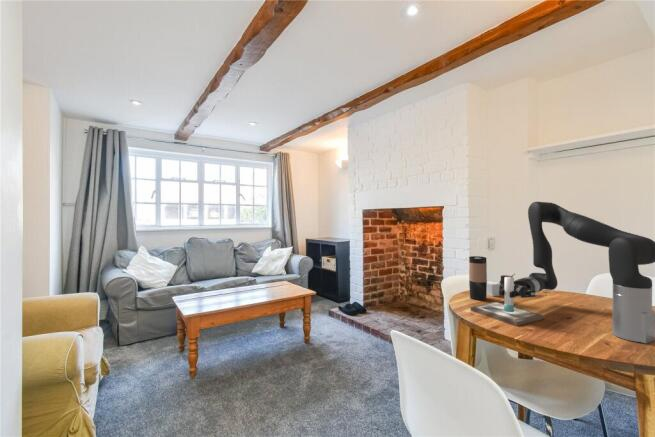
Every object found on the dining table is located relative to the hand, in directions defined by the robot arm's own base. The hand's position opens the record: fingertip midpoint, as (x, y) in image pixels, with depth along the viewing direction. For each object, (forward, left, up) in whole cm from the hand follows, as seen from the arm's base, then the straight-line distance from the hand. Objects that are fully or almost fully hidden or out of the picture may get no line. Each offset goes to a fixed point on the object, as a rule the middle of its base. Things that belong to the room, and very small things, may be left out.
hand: (505, 294), depth 118 cm
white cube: (+27, -28, -10) cm, 40 cm away
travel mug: (+25, -16, -10) cm, 32 cm away
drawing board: (+4, -6, -10) cm, 12 cm away
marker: (+1, -3, -7) cm, 8 cm away
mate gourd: (+27, -40, -10) cm, 49 cm away
